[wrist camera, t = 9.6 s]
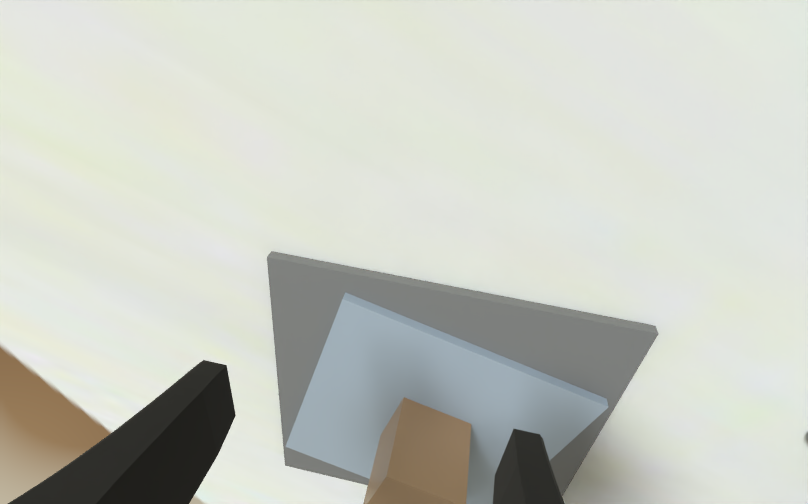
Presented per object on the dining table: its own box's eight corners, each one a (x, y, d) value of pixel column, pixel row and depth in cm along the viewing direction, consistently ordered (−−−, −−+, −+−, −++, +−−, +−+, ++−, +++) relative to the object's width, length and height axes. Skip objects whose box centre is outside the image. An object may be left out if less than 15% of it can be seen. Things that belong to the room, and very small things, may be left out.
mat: (655, 325, 20) (658, 333, 20) (542, 519, 30) (543, 527, 30) (271, 251, 22) (266, 257, 21) (287, 458, 32) (285, 465, 31)
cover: (606, 398, 22) (630, 498, 18) (482, 514, 30) (479, 602, 26) (345, 292, 22) (308, 371, 17) (288, 439, 30) (254, 517, 25)
